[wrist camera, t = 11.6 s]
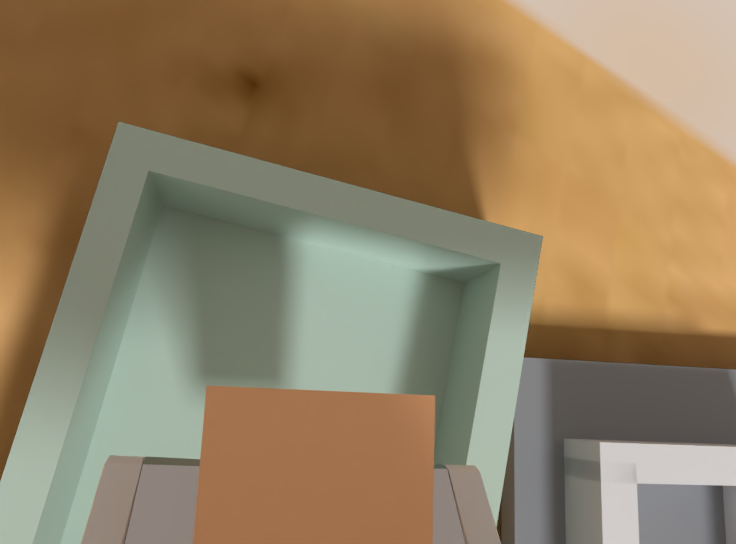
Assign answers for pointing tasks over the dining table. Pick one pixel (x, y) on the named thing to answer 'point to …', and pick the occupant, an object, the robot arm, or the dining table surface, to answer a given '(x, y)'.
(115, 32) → the dining table surface
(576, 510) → the grey socket base plate
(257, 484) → the orange rectangular block
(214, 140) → the dining table surface
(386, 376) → the tray
